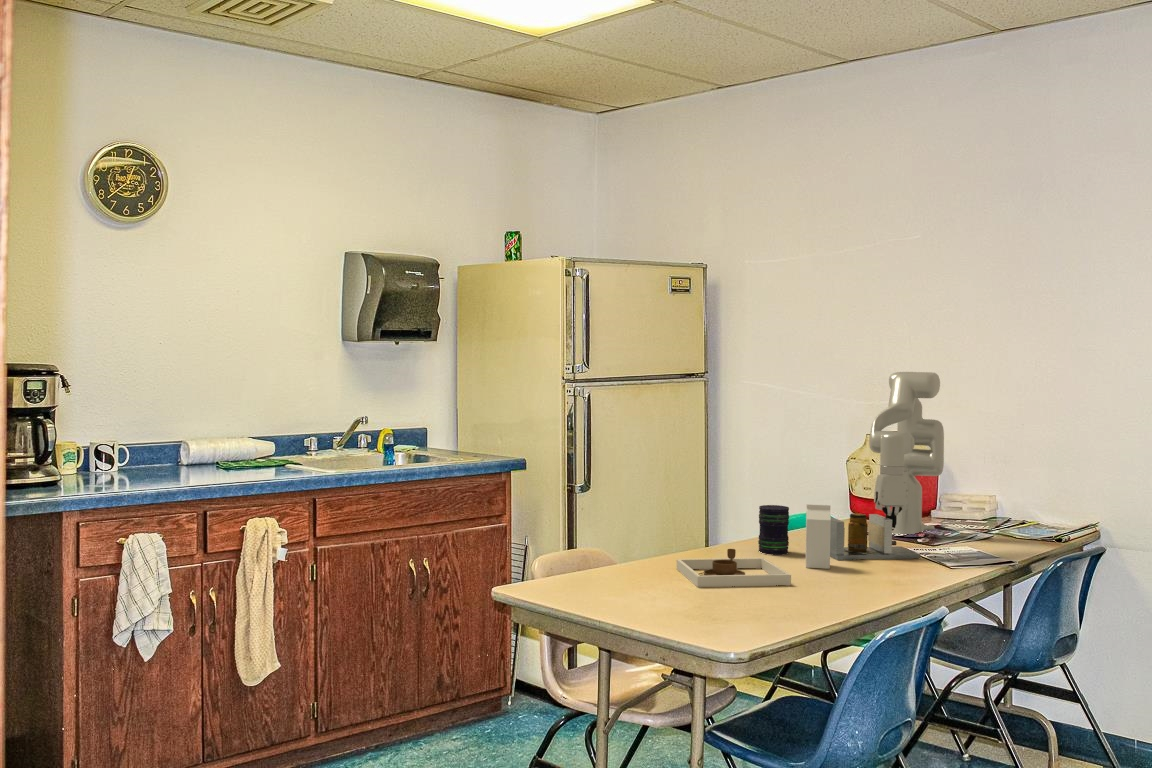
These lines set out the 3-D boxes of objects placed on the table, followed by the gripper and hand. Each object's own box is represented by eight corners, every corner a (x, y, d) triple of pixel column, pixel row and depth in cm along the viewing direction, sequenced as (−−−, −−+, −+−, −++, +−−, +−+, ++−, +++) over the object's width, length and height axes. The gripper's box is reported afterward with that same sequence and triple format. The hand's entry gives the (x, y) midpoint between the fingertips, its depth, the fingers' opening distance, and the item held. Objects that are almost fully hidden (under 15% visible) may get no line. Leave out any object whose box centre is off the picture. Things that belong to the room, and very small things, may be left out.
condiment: (855, 548, 349) (856, 512, 348) (877, 552, 342) (877, 515, 342) (841, 550, 344) (842, 514, 344) (863, 554, 337) (864, 517, 337)
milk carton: (829, 569, 321) (830, 506, 320) (805, 568, 322) (806, 506, 322) (828, 564, 328) (830, 503, 327) (805, 563, 329) (806, 502, 329)
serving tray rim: (763, 567, 322) (763, 557, 322) (791, 585, 297) (791, 574, 297) (676, 569, 318) (676, 559, 318) (697, 587, 294) (697, 576, 294)
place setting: (686, 576, 307) (687, 556, 307) (728, 567, 321) (729, 548, 321) (735, 586, 294) (736, 565, 294) (777, 576, 309) (777, 556, 308)
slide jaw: (887, 546, 351) (887, 513, 351) (903, 553, 339) (904, 519, 339) (866, 546, 350) (867, 514, 350) (882, 553, 338) (883, 519, 338)
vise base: (901, 550, 353) (901, 515, 353) (920, 558, 339) (921, 521, 339) (821, 552, 349) (821, 515, 349) (837, 560, 335) (837, 522, 335)
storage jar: (794, 554, 345) (795, 508, 345) (768, 555, 342) (769, 509, 341) (777, 548, 354) (778, 504, 354) (752, 550, 351) (753, 505, 350)
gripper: (908, 469, 349) (907, 525, 350) (865, 470, 347) (864, 525, 348) (919, 472, 342) (917, 528, 342) (875, 472, 340) (874, 529, 340)
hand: (891, 527), depth 345 cm, fingers closed
